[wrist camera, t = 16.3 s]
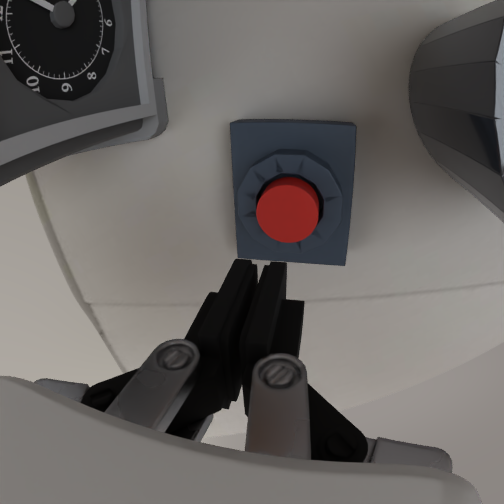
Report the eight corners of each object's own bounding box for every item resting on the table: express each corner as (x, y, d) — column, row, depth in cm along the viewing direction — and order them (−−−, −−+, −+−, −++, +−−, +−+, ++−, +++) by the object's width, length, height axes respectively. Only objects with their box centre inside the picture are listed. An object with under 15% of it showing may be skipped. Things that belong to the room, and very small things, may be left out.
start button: (317, 232, 20) (316, 245, 18) (262, 229, 21) (256, 241, 19) (320, 178, 18) (319, 186, 17) (260, 175, 19) (255, 183, 17)
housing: (343, 251, 24) (346, 280, 21) (244, 244, 26) (231, 271, 22) (353, 122, 19) (360, 128, 16) (238, 119, 21) (221, 125, 18)
